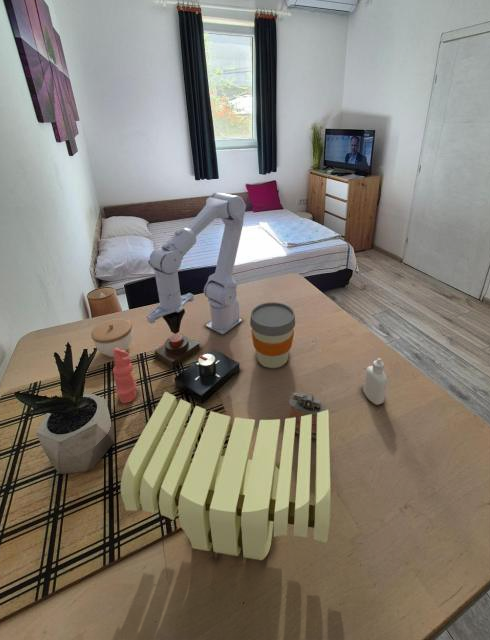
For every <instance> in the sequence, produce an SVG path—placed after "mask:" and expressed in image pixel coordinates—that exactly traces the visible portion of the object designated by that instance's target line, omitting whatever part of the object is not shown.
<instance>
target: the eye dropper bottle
mask: <svg viewBox="0 0 490 640" xmlns="http://www.w3.org/2000/svg"><path fill="white" fill-rule="evenodd" d="M384 366H385V364H384V362H383V361H382V358H381V357H378V358H377V359H375V360H374V361H373V363H372V365H369V366H367V367H366V370H365V377H364V383H363V388H362V389H363V394H364V395H365V397H366V398H367V399H368V400H369V401H370V402H371V403H372V404H374V405H376V406H378V405H379V406H380V405H381V404H384V402H385V396H386V392H387V385H388V378H387V375H386V374H385V372H384Z"/></svg>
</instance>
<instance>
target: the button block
mask: <svg viewBox="0 0 490 640" xmlns="http://www.w3.org/2000/svg"><path fill="white" fill-rule="evenodd" d="M179 335H181V336H182V339H183V343H182V344H181V345H180V346H177V347H172V346H171V345H170V337H168V338H167V339H166V340H165V342H164V344H163V345H161V346H160V347H158V348H157V349H155V350H154V357H155V358H157V359H158V360H160V361H161V362H163V363H165V364H166V365H167V366H169V367H170V368H172V369H174V368H175V367H177V366H178V365H180V364H181V363H182V362H184V361H185V360H187V359H188V358H189V357H190V356H192V355H193V354H195V353H196V352H197V351H199V350H200V343H199V342H198V341H196V340H194V339H193V338H190V336H189V337H188V336H187V335H185V334H184V333H180V334H179Z"/></svg>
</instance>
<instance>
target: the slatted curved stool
mask: <svg viewBox="0 0 490 640" xmlns="http://www.w3.org/2000/svg"><path fill="white" fill-rule="evenodd" d="M191 411H192V404H191V403H190V402H188V401H186V400H184V399H181V398H180V399H179V402H178V403H177V396H175V395H174V394H172V393H170V392H168V391H164V393H163V395H162V397H161V398H160V400H159V402H158V403H157V406H156V407H155V409H154V411H153V413H152V414H151V416H150V418H149V419H148V421H147V423H146V426H145V427H144V428H143V430H142V431H141V434H140V436H139V437H138V439H137V441H136V443H135V444H134V446H133V447H132V450H131V452H130V454H129V455H128V457H127V460H126V462H125V464H124V468H123V472H122V475H121V479H120V496H121V499H122V501H123V502H122V503H123V505H124V509H125V512H126V511H133V512H134V511H135V512H136V511H137V512H138V510H139V508H140V506H141V510H142V512H147V513H153V514H155V513H156V511H157V509H158V507H159V512H160V515H161V516H163V517H166V518H168V519H170V520H172V521H175V519H176V516H177V513H178V520H179V525H180V528H181V529H182V531H183V532H184V533H185V535H186V536H187V538H188V540H189V541H190V544H191V548H192V549H194V550H201V551H206V552H210V551H211V550H213V552H214V553H217V554H222V555H223V554H224V555H228V556H235V557H239V556H240V553H241V551H242V557H243V558H246V559H252V560H256V561H257V560H258V561H263V560H264V559H265V558H266V557H267V556H268V554H269V552H270V549H271V545H272V540H273V539H272V538H275V537H281V536H288V528H289V525H293V537H301V538H306V539H307V538H308V529H309V528H313V540H315V541H318V542H322V543H325V544H328V541H329V539H328V538H329V531H330V522H331V455H330V454H331V453H330V452H331V451H330V419H329V416H330V415H329V409H326V410H325V411H322V412H318V413H317V433H316V438H315V439H316V440H315V445H316V446H315V482H314V483H315V485H314V504H310V491H311V490H310V487H311V451H312V438H311V423H312V414H310V415H305V416H301V425H300V434H299V441H298V455H297V456H298V457H297V470H296V471H297V472H296V473H297V474H296V489H295V502H294V501H291V488H292V476H293V475H292V474H293V462H294V448H295V447H294V446H295V436H296V435H295V434H296V432H295V423H296V417H295V418H290V417H287V418H285V419H284V427H283V434H282V435H283V436H282V444H281V453H280V460H279V468H278V466H277V465H276V464H277V455H278V446H279V438H280V431H281V419H280V418H279V419H259V423H258V428H257V432H256V433H257V434H256V437H255V443H254V448H253V453H252V458H251V459H249V456H250V451H251V446H252V442H253V441H252V440H253V436H254V431H255V426H256V419H252V418H243V417H235V418H234V421H233V423H232V427H231V432H230V434H229V437H228V438H229V439H228V442H227V446H226V448H225V453H224V455H222V453H223V450H224V447H225V442H226V439H227V435H228V431H229V428H230V425H231V421H232V420H231V419H232V418H231V416H230V415H227V414H222V413H218V412H216V411H212V410H210V412H209V414H208V416H207V409H206V408H203V407H201V406H198V405H195V407H194V409H193V411H192V413H191ZM190 414H191V415H190ZM189 416H190V418H189ZM206 416H207V420H206V423H205V426H204V428H203V431H202V426H203V424H204V421H205V418H206ZM188 418H189V420H188ZM187 421H188V423H187ZM186 423H187V426H186ZM185 426H186V428H185ZM184 429H185V430H184ZM201 431H202V433H201ZM200 433H201V436H200V439H199V442H198V444H197V441H198V438H199V435H200ZM181 435H182V437H181ZM179 440H180V441H179ZM196 444H197V447H196ZM195 447H196V450H195ZM194 450H195V452H194ZM193 453H194V455H193ZM192 457H193V458H192Z"/></svg>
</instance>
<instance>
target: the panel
mask: <svg viewBox="0 0 490 640" xmlns="http://www.w3.org/2000/svg"><path fill="white" fill-rule="evenodd" d="M206 354H211V355H213V356H214V357H215V361H216V371H215V373H214V374H212V375H210V376H203V375H201V374H200V372H199V364H198V360H196V361H195V362H194V363H192V364H191V365H190V366H188V367H187V368H186V369H184V370H183V371H181V372H180V373H179V374H177V375H176V376H175V377H173V379H174V385H175V387H176V389H178V390H179V391H181V392H183V393H184V394H185V395H187V396H189V397H190V398H192V399H193V400H194V401H196V402H198V403H199V404H200V405H202V406H203V405H204V404H205V403H206V402H207V401H208V400H209V399H211V398H212V397H213V396H214V395H215V394H216V393H217V392H219V390H221V389H222V388H223V387H224V386H225V385H226V384H228V383H229V382H230V381H231V380H232V379H233V378H234V377H235V376H236V375H237V374H239V373H240V371H241V370H240V362H239V361H236V360H235V359H233V358H231V357H229V356H227V355H225V354H224V353H222V352H220V351H218V350H216V349H214V348H212V349H211V350H210V351H208V352H207V353H206Z"/></svg>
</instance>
